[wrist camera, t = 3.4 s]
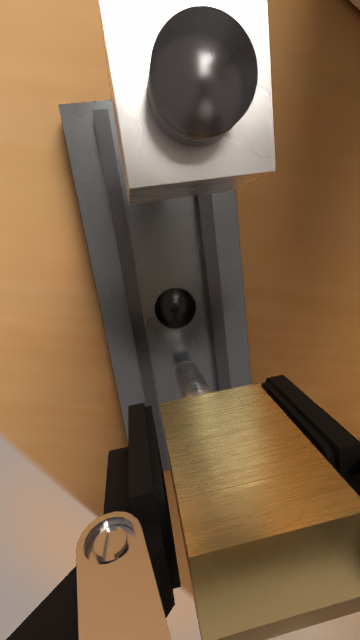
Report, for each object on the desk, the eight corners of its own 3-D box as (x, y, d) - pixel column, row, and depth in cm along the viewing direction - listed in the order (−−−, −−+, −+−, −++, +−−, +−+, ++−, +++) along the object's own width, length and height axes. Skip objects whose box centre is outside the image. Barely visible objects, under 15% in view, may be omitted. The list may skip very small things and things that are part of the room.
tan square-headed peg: (148, 344, 15) (189, 557, 5) (212, 332, 16) (371, 510, 6) (158, 403, 16) (210, 687, 6) (219, 391, 17) (367, 639, 6)
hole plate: (64, 115, 14) (-92, -182, 4) (219, 100, 15) (408, -176, 5) (134, 462, 19) (142, 715, 9) (249, 437, 20) (374, 642, 10)
